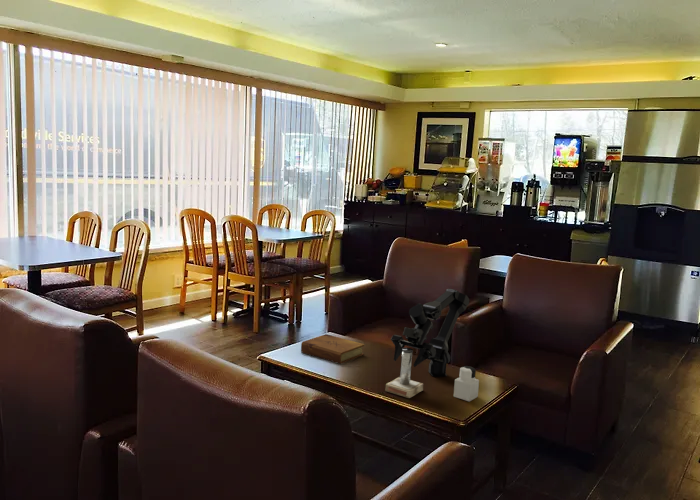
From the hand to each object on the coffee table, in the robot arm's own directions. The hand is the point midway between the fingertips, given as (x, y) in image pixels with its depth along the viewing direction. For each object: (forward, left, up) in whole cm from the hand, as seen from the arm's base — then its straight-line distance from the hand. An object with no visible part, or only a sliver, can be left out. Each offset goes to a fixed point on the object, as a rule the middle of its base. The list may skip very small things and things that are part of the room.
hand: (404, 363), depth 227 cm
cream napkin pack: (-1, -1, -12) cm, 12 cm away
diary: (+21, -47, -12) cm, 53 cm away
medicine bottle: (-24, +7, -12) cm, 28 cm away
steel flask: (-1, -1, -8) cm, 9 cm away
